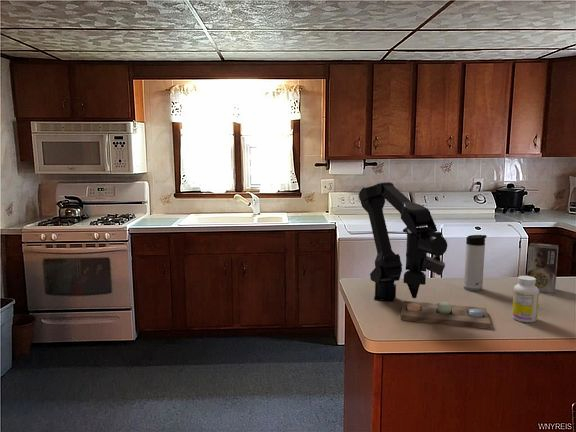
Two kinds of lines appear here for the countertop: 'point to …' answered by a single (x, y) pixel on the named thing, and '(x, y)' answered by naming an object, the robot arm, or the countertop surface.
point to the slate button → (475, 313)
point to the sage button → (444, 308)
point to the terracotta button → (413, 307)
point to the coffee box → (543, 265)
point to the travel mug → (474, 262)
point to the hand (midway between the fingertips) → (414, 297)
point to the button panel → (445, 315)
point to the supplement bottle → (525, 299)
